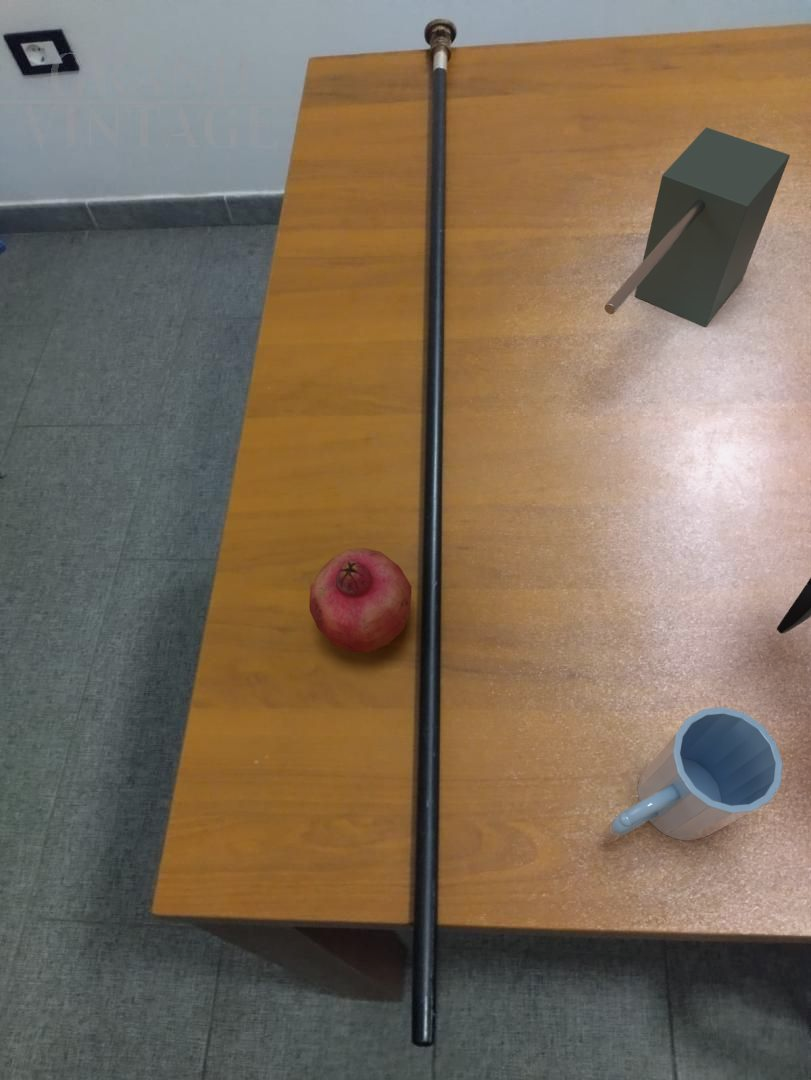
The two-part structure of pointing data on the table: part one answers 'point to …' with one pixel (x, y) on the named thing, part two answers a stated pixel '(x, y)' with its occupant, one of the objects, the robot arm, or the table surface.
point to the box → (705, 225)
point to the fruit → (360, 600)
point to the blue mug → (705, 777)
